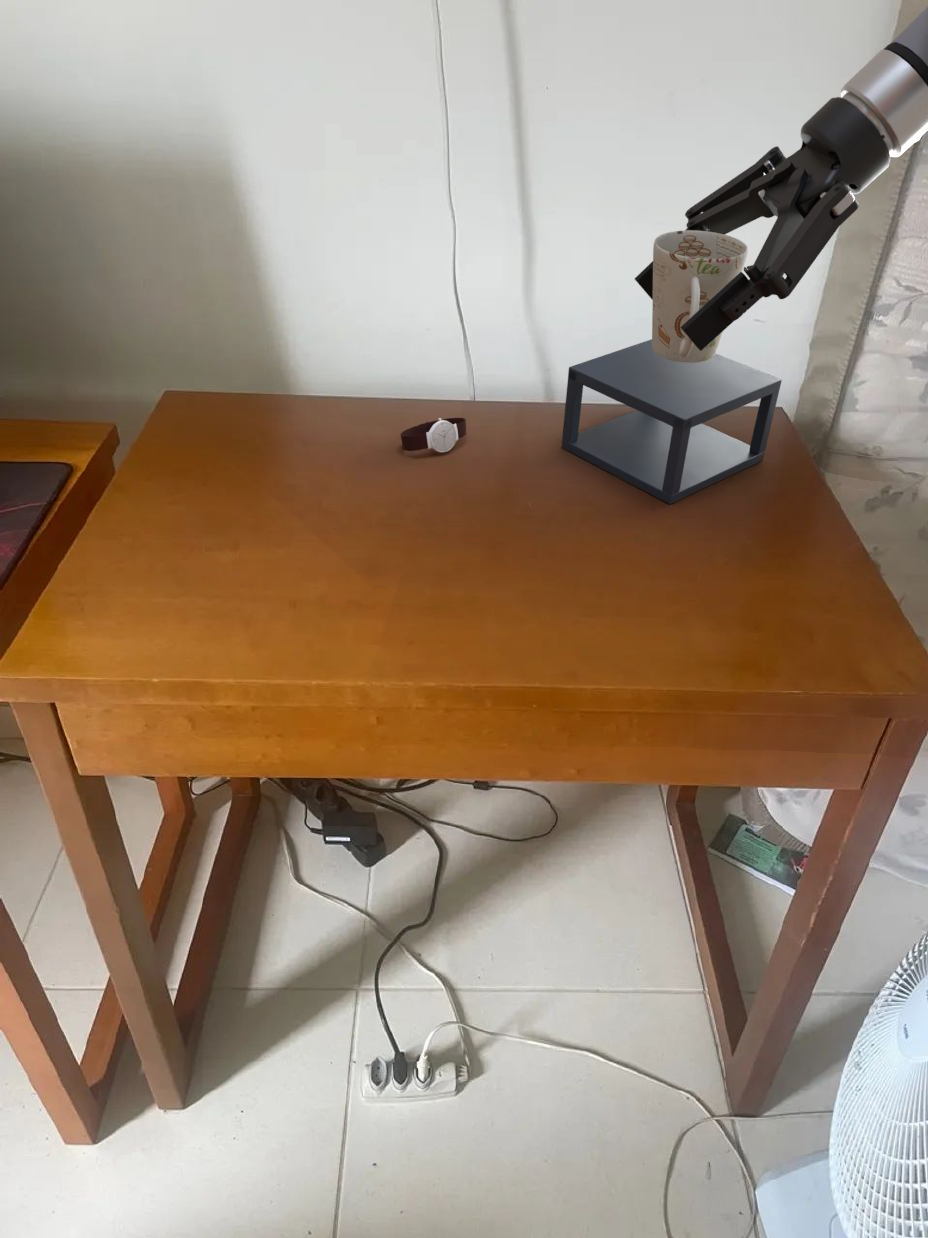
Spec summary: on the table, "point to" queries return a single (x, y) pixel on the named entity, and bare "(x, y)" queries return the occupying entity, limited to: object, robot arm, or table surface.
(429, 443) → the watch
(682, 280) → the mug
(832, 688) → the table surface
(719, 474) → the shelf
